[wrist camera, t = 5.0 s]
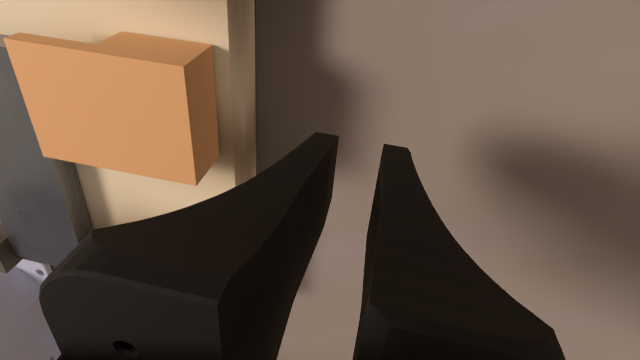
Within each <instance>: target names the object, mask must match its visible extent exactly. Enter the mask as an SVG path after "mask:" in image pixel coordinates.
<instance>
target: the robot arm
mask: <svg viewBox="0 0 640 360" xmlns="http://www.w3.org/2000/svg"><path fill="white" fill-rule="evenodd" d="M338 137H339V136H336V135H330V134H324V133H318V132H316V133H315V134H313V135H312V136H310V137H309V138H308V139H306V140H305V141H304V142H303V143H301V144H300V145H299V146H298V147H296V148H295V149H294V150H292V151H291V152H290V153H289V154H287V155H286V156H284V157H283V158H282V159H280V160H279V161H277V162H276V163H275V164H273V165H272V166H270V167H269V168H267V169H266V170H264V171H262V172H261V173H259V174H258V175H256V176H255V177H253V178H251V179H249V180H248V181H246V182H244V183H242V184H240V185H238V186H236V187H234V188H232V189H230V190H228V191H226V192H224V193H221V194H219V195H217V196H214V197H212V198H209V199H206V200H204V201H201V202H199V203H196V204H194V205H191V206H188V207H185V208H182V209H179V210H176V211H173V212H169V213H166V214H162V215H159V216H155V217H151V218H147V219H143V220H139V221H134V222H129V223H124V224H119V225H114V226H109V227H104V228H98V229H93V230H92V231H91V232H90V233H89V234H88V235H87V236H86V237H85V238H84V239H83V240H82V241H81V242H80V243H79V244H78V245H77V246H76V247H75V248H74V249H73V250H72V251H71V252H70V253H69V254H68V255H67V256H66V257H65V258H64V259H63V260H62V262H61V263H60V264H59V265H58V266H57V267H56V268H55V269H54V270H53V271H52V268H51V266H50V265H46V264H42V263H38V262H33V261H29V260H25V259H22V260H21V261H20V262H19V263H18V264H17V265H16V266H15V267H14V268H13V269H12V270H10V271H9V272H8V273H7V274H5V273H1V272H0V360H276V359H277V356H278V352H279V349H280V345H281V342H282V338H283V335H284V331H285V328H286V325H287V321H288V318H289V314H290V311H291V308H292V304H293V302H294V299H295V296H296V293H297V291H298V288H299V286H300V283H301V281H302V278H303V276H304V274H305V271H306V269H307V266H308V264H309V262H310V259H311V257H312V254H313V252H314V250H315V247H316V245H317V242H318V240H319V237H320V235H321V233H322V230H323V228H324V224H325V221H326V217H327V213H328V210H329V206H330V202H331V198H332V191H333V182H334V173H335V164H336V155H337V146H338ZM353 360H566V359H565V357H564V354H563V352H562V349H561V347H560V344H559V342H558V340H557V337H556V335H555V332H554V330H553V329H552V328H551V327H550V326H549V325H547V324H546V323H545V322H543V321H542V320H541V319H539V318H538V317H537V316H535V315H534V314H533V313H532V312H530V311H529V310H528V309H526V308H525V307H524V306H522V305H521V304H520V303H519V302H517V301H516V300H515V299H514V298H512V297H511V296H510V295H509V294H508V293H507V292H505V291H504V290H503V289H502V288H501V287H500V286H499V285H498V284H497V283H495V282H494V281H493V280H492V279H491V278H490V277H489V276H488V275H487V274H486V273H485V272H484V271H483V270H482V269H481V268H480V267H479V266H478V265H477V264H476V263H475V262H474V261H473V260H472V259H471V257H470V256H469V255H468V254H467V253H466V252H465V251H464V250H463V249H462V247H461V246H460V245H459V244H458V243H457V241H456V240H455V239H454V237H453V236H452V235H451V233H450V232H449V231H448V229H447V228H446V226H445V225H444V223H443V222H442V220H441V219H440V217H439V215H438V214H437V212H436V210H435V208H434V207H433V205H432V203H431V201H430V200H429V198H428V196H427V194H426V192H425V190H424V187H423V185H422V183H421V181H420V179H419V177H418V174H417V172H416V169H415V166H414V163H413V160H412V157H411V152H410V151H409V150H408V148H405V147H399V146H393V145H388V144H384V146H383V151H382V156H381V161H380V167H379V172H378V178H377V183H376V188H375V194H374V199H373V205H372V210H371V216H370V221H369V227H368V232H367V240H366V253H365V266H364V279H363V292H362V305H361V313H360V321H359V326H358V332H357V338H356V343H355V349H354V355H353Z"/></svg>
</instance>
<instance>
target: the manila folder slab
mask: <svg viewBox="0 0 640 360" xmlns="http://www.w3.org/2000/svg"><path fill="white" fill-rule="evenodd" d="M3 39H4V42H5V45H6V48H7V51H8V54H9V57H10V60H11V63H12V66H13V69H14V72H15V75H16V78H17V81H18V84H19V86H20V89H21V92H22V95H23V98H24V101H25V104H26V107H27V110H28V113H29V116H30V119H31V122H32V125H33V128H34V131H35V133H36V136H37V139H38V142H39V145H40V148H41V151H42V154H43V156H44V157H49V158H54V159H59V160H64V161H69V162H74V163H80V164H85V165H90V166H95V167H100V168H105V169H110V170H116V171H121V172H126V173H131V174H136V175H141V176H146V177H152V178H157V179H162V180H167V181H172V182H177V183H182V184H188V185H193V186H197V185H198V183H199V182H200V181H201V180H202V178H203V177H204V176H205V174H206V173H207V172H208V170H209V169H210V168H211V166H212V165H213V164H214V163H215V161H216V160H217V159H218V157H219V156H220V155H219V141H218V126H217V111H216V96H215V81H214V67H213V52H212V45H209V44H203V43H196V42H189V41H183V40H176V39H169V38H163V37H156V36H149V35H143V34H136V33H129V32H123V31H121V32H119V33H117V34H115V35H113V36H111V37H109V38H107V39H105V40H103V41H101V42H99V43H97V44H92V43H85V42H79V41H72V40H66V39H59V38H53V37H47V36H40V35H34V34H27V33H21V32H18V33H16V34H13V35H10V36H8V37H5V38H3Z"/></svg>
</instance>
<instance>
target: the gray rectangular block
mask: <svg viewBox="0 0 640 360" xmlns="http://www.w3.org/2000/svg"><path fill="white" fill-rule="evenodd" d="M8 36H10V35H3V34H0V221H1V223H2V225H3V228H4V230H5V232H6V235H7V237H8V239H9V242H10V244H11V246H12V248H13V251H14V253H15V255H16V257H17V258H20V259H25V260H29V261H33V262H38V263H42V264H46V265H51V266H55V267H57V266H58V265H59V264H60V263H61V262H62V260H63V259H64V258H65V257H66V256H67V255H68V254H69V253H70V252H71V251H72V250H73V249H74V248H75V247H76V246H77V245H78V244H79V243H80V242H81V241H82V240H83V239H84V238H85V237H86V236H87V235H88V234H89V233H90V232H91V231H92V230H93V226H92V223H91V219H90V215H89V212H88V208H87V205H86V201H85V198H84V194H83V191H82V187H81V184H80V180H79V177H78V173H77V170H76V166H75V163H74V162H69V161H64V160H59V159H54V158H49V157H44V156H43V154H42V151H41V148H40V145H39V142H38V139H37V136H36V133H35V131H34V128H33V125H32V122H31V119H30V116H29V113H28V110H27V107H26V104H25V101H24V98H23V95H22V92H21V89H20V86H19V84H18V81H17V78H16V75H15V72H14V69H13V66H12V63H11V60H10V57H9V54H8V51H7V48H6V45H5V42H4V39H3V38H5V37H8Z"/></svg>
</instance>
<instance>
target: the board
mask: <svg viewBox="0 0 640 360" xmlns="http://www.w3.org/2000/svg"><path fill="white" fill-rule="evenodd" d="M121 31H123V32H129V33H136V34H143V35H149V36H156V37H163V38H169V39H176V40H183V41H189V42H196V43H203V44H209V45H212V52H213V67H214V81H215V96H216V111H217V126H218V141H219V155H220V156H219V157H218V159H217V160H216V161H215V163H214V164H213V165H212V166H211V168H210V169H209V170H208V172H207V173H206V174H205V176H204V177H203V178H202V180H201V181H200V182H199V183H198V185H197V186H193V185H188V184H182V183H177V182H172V181H167V180H162V179H157V178H152V177H146V176H141V175H136V174H131V173H126V172H121V171H116V170H110V169H105V168H100V167H95V166H90V165H85V164H80V163H75V166H76V170H77V173H78V177H79V180H80V184H81V187H82V191H83V194H84V198H85V201H86V205H87V208H88V212H89V215H90V219H91V223H92V226H93V229H98V228H104V227H109V226H114V225H119V224H124V223H129V222H134V221H139V220H143V219H147V218H151V217H155V216H159V215H162V214H166V213H169V212H173V211H176V210H179V209H182V208H185V207H188V206H191V205H194V204H196V203H199V202H201V201H204V200H206V199H209V198H212V197H214V196H217V195H219V194H221V193H224V192H226V191H228V190H230V189H232V188H234V187H236V186H238V185H240V184H242V183H244V182H246V181H248V180H249V179H251V178H253V177H255V176H256V93H255V2H254V0H0V34H3V35H13V34H16V33H18V32H21V33H27V34H34V35H40V36H47V37H53V38H59V39H66V40H72V41H79V42H85V43H92V44H97V43H99V42H101V41H103V40H105V39H107V38H109V37H111V36H113V35H115V34H117V33H119V32H121ZM21 260H22V259H20V258H17V257H16V255H15V253H14V251H13V248H12V246H11V244H10V242H9V239H8V237H7V235H6V232H5V230H4V228H3V225H2V223H1V221H0V272H1V273H5V274H7V273H8V272H9V271H10V270H12V269H13V268H14V267H15V266H16V265H17V264H18V263H19V262H20V261H21Z"/></svg>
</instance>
